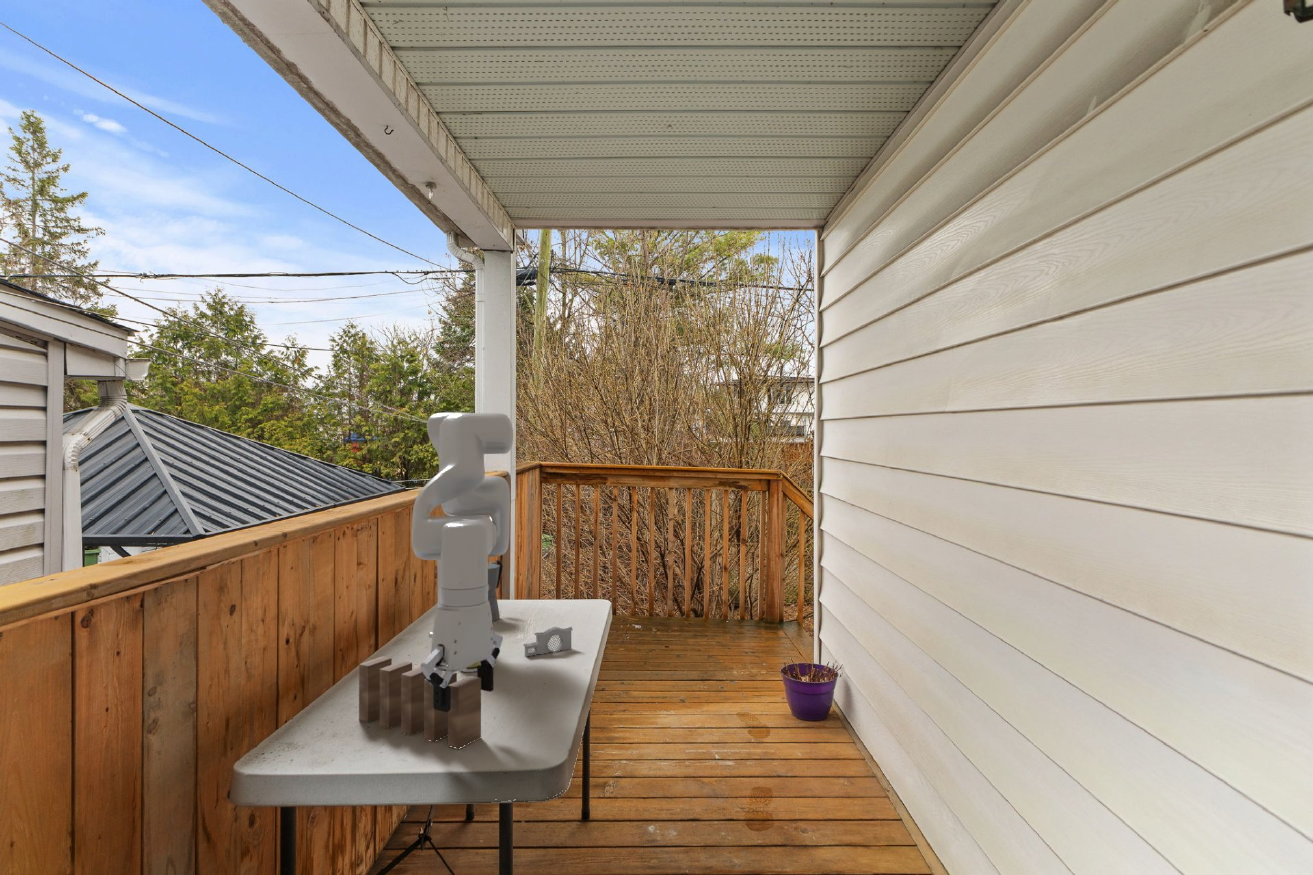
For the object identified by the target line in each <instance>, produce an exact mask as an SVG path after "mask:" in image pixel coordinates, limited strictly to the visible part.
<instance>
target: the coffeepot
mask: <svg viewBox="0 0 1313 875" xmlns="http://www.w3.org/2000/svg"><path fill="white" fill-rule="evenodd" d="M502 572H503V564H502V561H500V559H499V560H494V561H490V562H488V585H489V590H488V601H489V603H490V608H491V615H492V621H494V622H496V620H497V621H499V620H500V617H501V616H500V615H501V614H500V611H499V605H498V599H497V596H496V591H497V589H499V587H500V581H501V577H502Z"/></svg>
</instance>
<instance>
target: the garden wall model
mask: <svg viewBox="0 0 1313 875" xmlns="http://www.w3.org/2000/svg"><path fill="white" fill-rule="evenodd" d="M573 629H574V628H573V626H568V627H566V628H563V627H559V626H553V627H551V628H548V629H546V630H545V631H542V632H541V631H540V632H539V631H538V632H535V633H534V635H535V636H536V638H535V639H536V641H534V642H531V643H523V646H524V657H526V656H530V657H533V656H532V655H535V656H537V655H536V654H541V655H544V654H543V653H546V654H549V653H548V652H556V653H559V652H561V651H560V650H562V651H567V649H568V650H571V649H572V631H573ZM554 650H555V651H554ZM558 651H559V652H558Z"/></svg>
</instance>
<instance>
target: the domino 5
mask: <svg viewBox="0 0 1313 875" xmlns="http://www.w3.org/2000/svg"><path fill="white" fill-rule="evenodd" d="M448 686H450V688H451V709H450V711H448V736H447V747H448V746H452V747H456V748H458V749H459V748H460V747H463V746H464V745H467V744H468V743H470V742H472V741H474V740H476V739H478V738H480V737H481V738H482V690H481V678H479V677H477V676H474V675H469V676H467V677H464V678H461V679H460V680H457V682H454V683H452V684H450V685H448ZM481 738H480V739H481ZM478 740H479V739H478ZM476 741H477V740H476ZM474 742H475V741H474ZM472 743H473V742H472ZM467 746H468V745H467ZM463 748H464V747H463Z"/></svg>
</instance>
